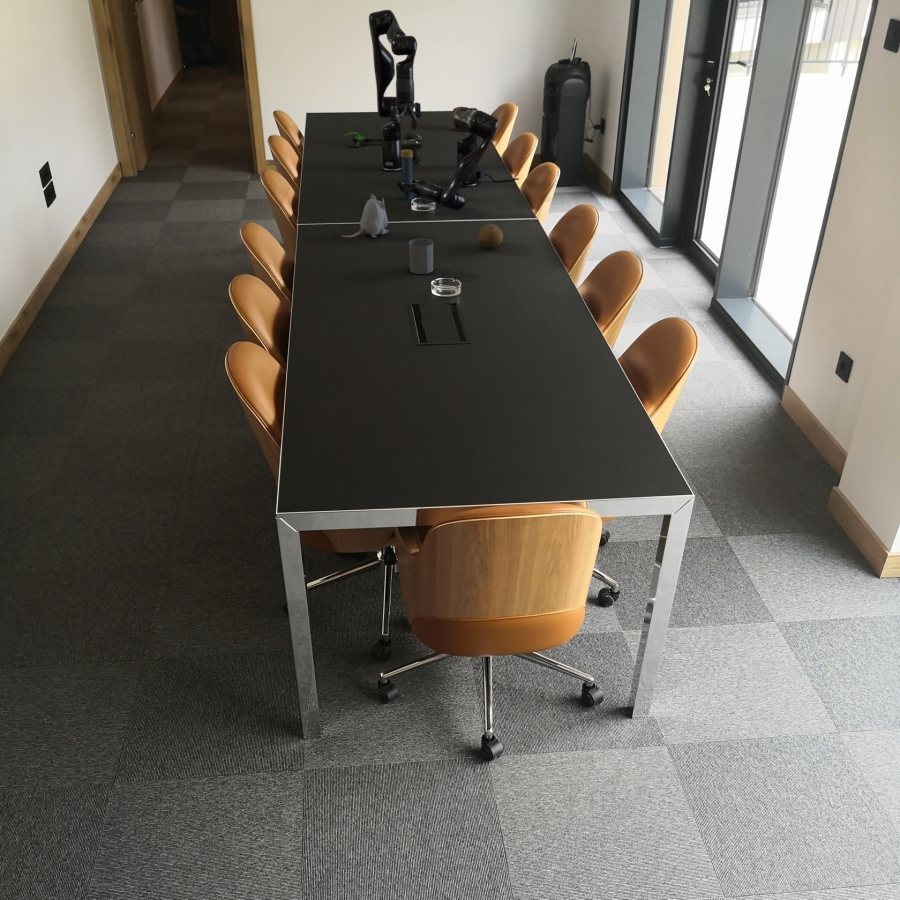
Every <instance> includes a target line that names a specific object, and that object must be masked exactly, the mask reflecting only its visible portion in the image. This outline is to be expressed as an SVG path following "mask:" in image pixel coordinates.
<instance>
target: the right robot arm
mask: <svg viewBox="0 0 900 900" xmlns="http://www.w3.org/2000/svg"><path fill="white" fill-rule="evenodd" d="M454 125H455V127H456V128H457V129H458V130H464V131H465V132H467V133H466V134H465V135H464V136H460V137H459V138H458V139H457V141H456V169H455V172H454V174H453V177H452V178H451V180H450V181H449V182H448V184H447V185H446V186H445V187H443V186H440V185H437V184H435V183H433V182H431V181H428V180H424V179H419V180H418V179H416V180H415V179H413V183H407V184H406V183H402V181H397V187H398V188H399V191H400V192H402V193H403V192H404V193H408V191H409V192H413V194H415V196H416V197H417V198H419V199H422V200H425V201H427V202H432V203H435V204H437V205H442V206H443V207H445V208H448V209H451V210H454V211H458V210H459V211H460V210H462V209H463V208H464V207H465V205H466V199H465V196H464V195H463V194H462V193H461V192H459V191H460V190H461V189H467V188H469V187H475V186H477V185H478V184H479V183H480V179H481V180H482V179H485V176H487V177H488V178H490V180H491V181H492V182H494V183H505V182H512V181H519V180H520V178H519V177H516V178H510V179H502V180H497V179H494V178H493V177H492V176H491V175H490V174H488V173H485V172H486V171H485V170H484V169H480V162H481V160H482V158H483V157H484V155H485V153H486V152H487V149H488V148H489V146H490V144H491V143H492V140H493V139H494V137H495V135H496V133H497V130H498V128H499V125H500V124H499V118H497V117H496V116H493V115H492V114H489V113H487V112H485V111H483V110H478V109H477V108H476V107H467V108H460V109H457V110H456V111H455V114H454ZM454 125H453V126H454ZM479 138H480V139H482V140H481V142H480V144H479ZM405 185H406V186H405ZM409 185H410V188H409Z"/></svg>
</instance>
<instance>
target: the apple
mask: <svg viewBox="0 0 900 900" xmlns="http://www.w3.org/2000/svg"><path fill="white" fill-rule="evenodd" d="M460 108H468V107H467V106H462V105H461V106H457V107H454V108H452V111H451V121H452V125H453V128H454V129H455V131H457V132H463V131H464V130H458V129H457V128H456V127H455V125H454V114H455V111H456V110H457V109H460Z"/></svg>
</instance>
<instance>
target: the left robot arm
mask: <svg viewBox="0 0 900 900" xmlns="http://www.w3.org/2000/svg"><path fill="white" fill-rule="evenodd" d="M368 27H369V33H370V39H371V45H372V55H373V69H374V70H373V72H374V78H375V86H376V105H377V106H376V107H377V115H378V116H379V118H384V119H386V118H387V119H389V118H390V122H388V123H386V124H384V125H383V124H382V126H381V139H382V142H381V151H382V152H381V153H382V170H383V171H385V172H400V171H402V157H401V150H403V148H402V129H401V128H402V126H401V124H402V122H401V120H402V119H403V118H404V117H405V116H410V119H411V129H412V130H414V131H415V130H417V128H418V119H421V118H422V111H421V107H422V106H421V103H420V102H417V101H416V102H415V80H414V63H415V58H416V55H417V50H418V41H417V39H416V37H415V36H414V35H406V33H405V32H404V31H403V29H402V28H401V27H400V24H399V22H398V20H397V18H396V16H395V13H394V12H393V11H392V10H390V9H382V10H378V11H374V12H371V13H369V15H368ZM383 35H386V39H387V41H388V43H389V44H390V49H391V52H390V51H389V50H388V49H387V47H385V46H384V44H383V43H382V41H381V39H380V36H383ZM391 53H392V54H393V55H394V56H400V57H401V56H406V57H405V59H403V60H401V61H398V62H396V64H395V57H394V56H393V55H392V54H391ZM394 77H395V78H396V79H395V96H385V95H386V91H387V89H388V87H389V86H390V84H391V83H392V81H393V80H394ZM414 158H415V159H412V164H413V163H416V162H418V161H419V157H418V156H417V155H416V154H414Z"/></svg>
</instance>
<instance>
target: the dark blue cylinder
mask: <svg viewBox="0 0 900 900" xmlns="http://www.w3.org/2000/svg"><path fill="white" fill-rule="evenodd" d="M412 161H413V157H410V158H404V157H402V170H401V179H402V180H401V182H402V183H406V184H407V183H413V180H414V179H413V163H412ZM405 186H406V185H405ZM409 188H410V185H409ZM413 198H414V193H413V192H409V191H408V193H404V192H402V200H406V201H411V200H413Z"/></svg>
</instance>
